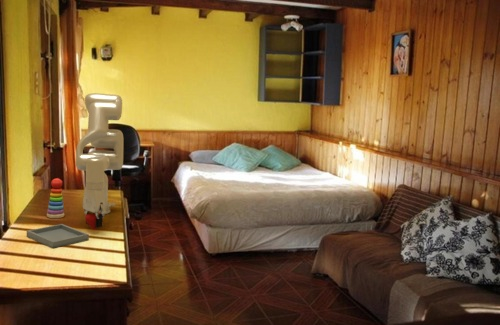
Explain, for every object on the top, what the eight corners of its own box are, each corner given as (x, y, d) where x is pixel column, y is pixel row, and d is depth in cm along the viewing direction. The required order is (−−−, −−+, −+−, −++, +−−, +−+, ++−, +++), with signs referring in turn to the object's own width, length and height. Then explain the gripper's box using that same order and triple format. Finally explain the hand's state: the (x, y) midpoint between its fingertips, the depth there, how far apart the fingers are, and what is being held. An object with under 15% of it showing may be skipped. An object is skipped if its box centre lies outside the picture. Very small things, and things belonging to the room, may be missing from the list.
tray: (61, 229, 211) (61, 223, 210) (88, 240, 199) (88, 234, 199) (26, 236, 198) (26, 230, 198) (53, 248, 186) (53, 242, 186)
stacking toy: (58, 219, 225) (58, 180, 223) (43, 217, 227) (43, 179, 224) (67, 215, 233) (68, 178, 230) (53, 213, 234) (53, 176, 232)
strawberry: (84, 227, 212) (85, 206, 210) (102, 227, 215) (102, 205, 213) (84, 232, 207) (85, 209, 205) (103, 231, 209) (103, 209, 208)
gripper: (75, 183, 209) (75, 222, 212) (99, 190, 199) (98, 231, 202) (90, 180, 215) (89, 219, 218) (114, 188, 205) (113, 228, 208)
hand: (93, 224), depth 210 cm, fingers closed on strawberry, 6 cm apart
